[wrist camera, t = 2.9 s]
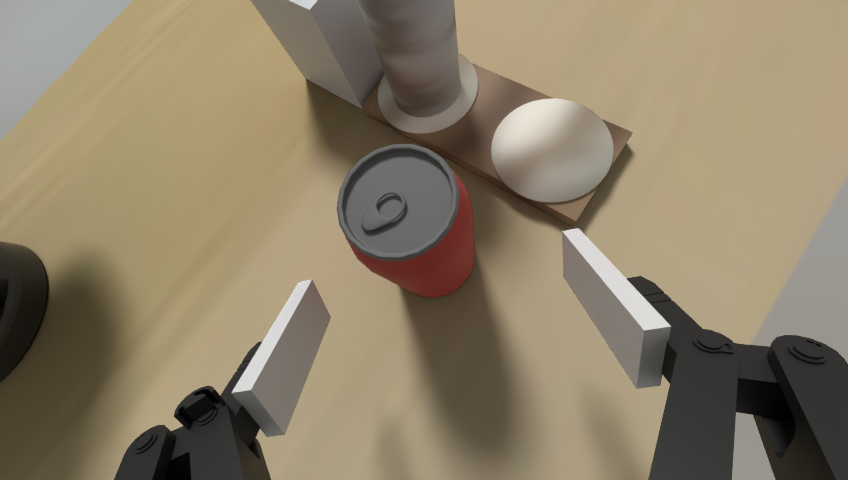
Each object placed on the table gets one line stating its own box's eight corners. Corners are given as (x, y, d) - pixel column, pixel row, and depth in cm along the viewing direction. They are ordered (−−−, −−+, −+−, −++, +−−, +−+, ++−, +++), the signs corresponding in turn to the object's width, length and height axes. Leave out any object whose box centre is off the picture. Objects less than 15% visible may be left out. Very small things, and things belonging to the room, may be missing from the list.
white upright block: (305, 78, 32) (233, -25, 23) (352, 22, 33) (301, -99, 24) (363, 109, 30) (309, 9, 21) (411, 48, 31) (381, -74, 22)
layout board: (363, 115, 30) (278, -41, 17) (418, 46, 31) (375, -149, 18) (569, 229, 24) (672, 118, 11) (628, 138, 25) (782, -57, 12)
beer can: (378, 254, 26) (299, 197, 15) (437, 202, 26) (405, 107, 15) (429, 316, 24) (383, 306, 13) (493, 259, 24) (505, 199, 13)
